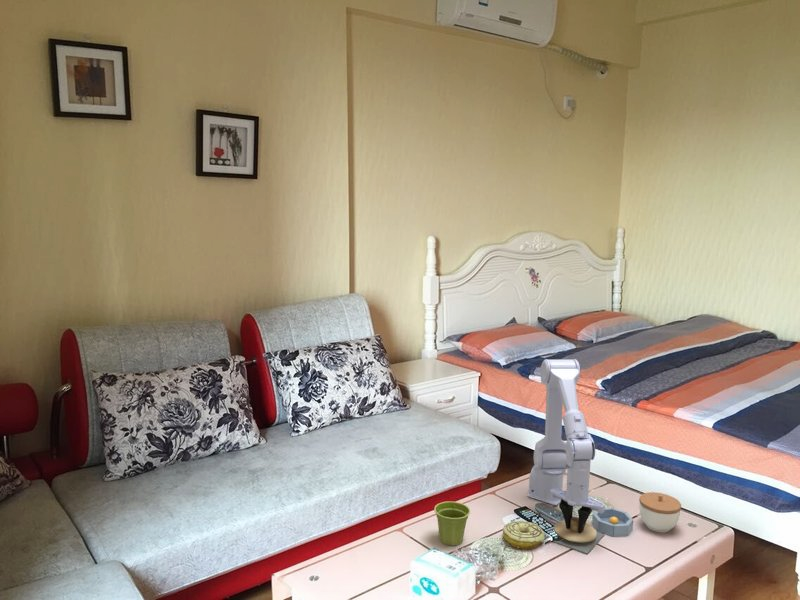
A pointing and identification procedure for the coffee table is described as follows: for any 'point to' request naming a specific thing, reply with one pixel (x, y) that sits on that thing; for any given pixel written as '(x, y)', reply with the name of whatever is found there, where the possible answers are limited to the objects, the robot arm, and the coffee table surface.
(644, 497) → the lidded jar
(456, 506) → the plant pot
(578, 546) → the mat
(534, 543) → the decorated donut
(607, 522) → the bowl
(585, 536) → the lid
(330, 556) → the coffee table surface
